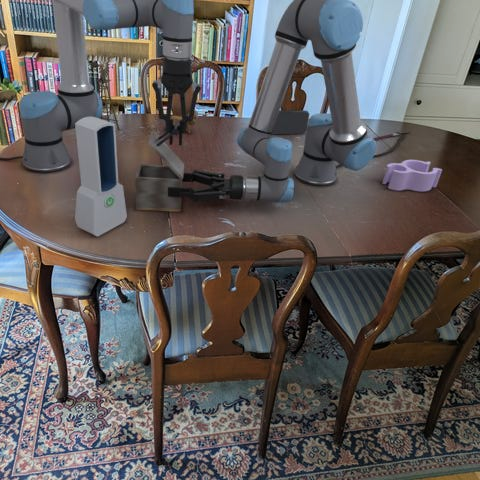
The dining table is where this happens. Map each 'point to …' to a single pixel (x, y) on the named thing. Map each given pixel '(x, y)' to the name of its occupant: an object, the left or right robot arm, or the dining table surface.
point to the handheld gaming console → (291, 122)
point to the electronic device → (98, 177)
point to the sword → (389, 135)
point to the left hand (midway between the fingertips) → (175, 143)
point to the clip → (411, 176)
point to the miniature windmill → (102, 81)
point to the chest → (156, 188)
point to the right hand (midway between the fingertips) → (169, 183)
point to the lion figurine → (189, 123)
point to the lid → (167, 150)
